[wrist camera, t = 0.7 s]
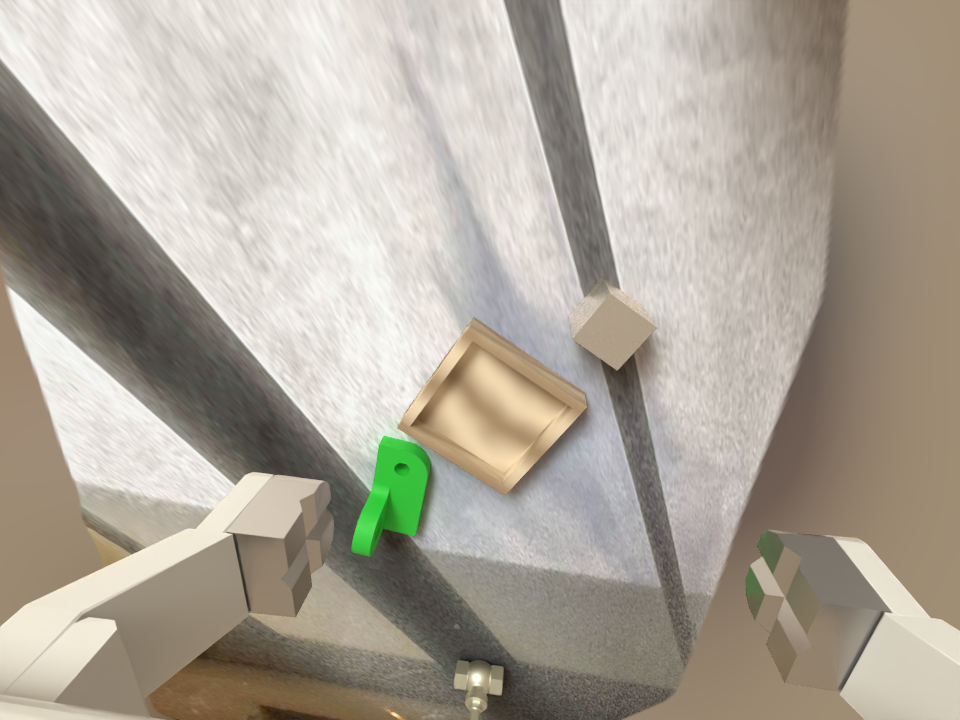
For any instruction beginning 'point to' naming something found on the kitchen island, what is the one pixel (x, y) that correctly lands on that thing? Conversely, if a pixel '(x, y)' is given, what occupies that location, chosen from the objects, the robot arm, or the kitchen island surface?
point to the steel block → (610, 323)
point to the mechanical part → (393, 494)
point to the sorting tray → (492, 408)
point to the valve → (478, 684)
